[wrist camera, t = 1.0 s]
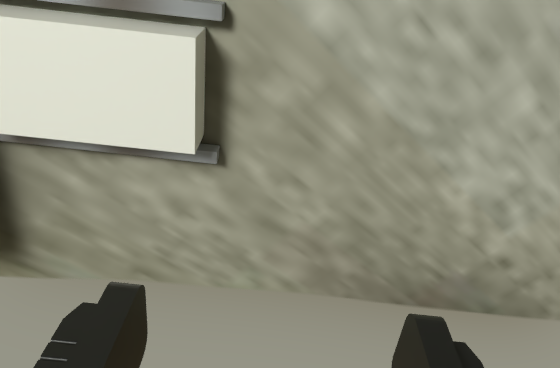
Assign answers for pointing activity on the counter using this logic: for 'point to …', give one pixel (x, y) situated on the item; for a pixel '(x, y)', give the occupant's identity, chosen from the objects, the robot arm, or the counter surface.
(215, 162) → the overhang
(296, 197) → the counter surface
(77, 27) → the cream rectangular block
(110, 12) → the counter surface
